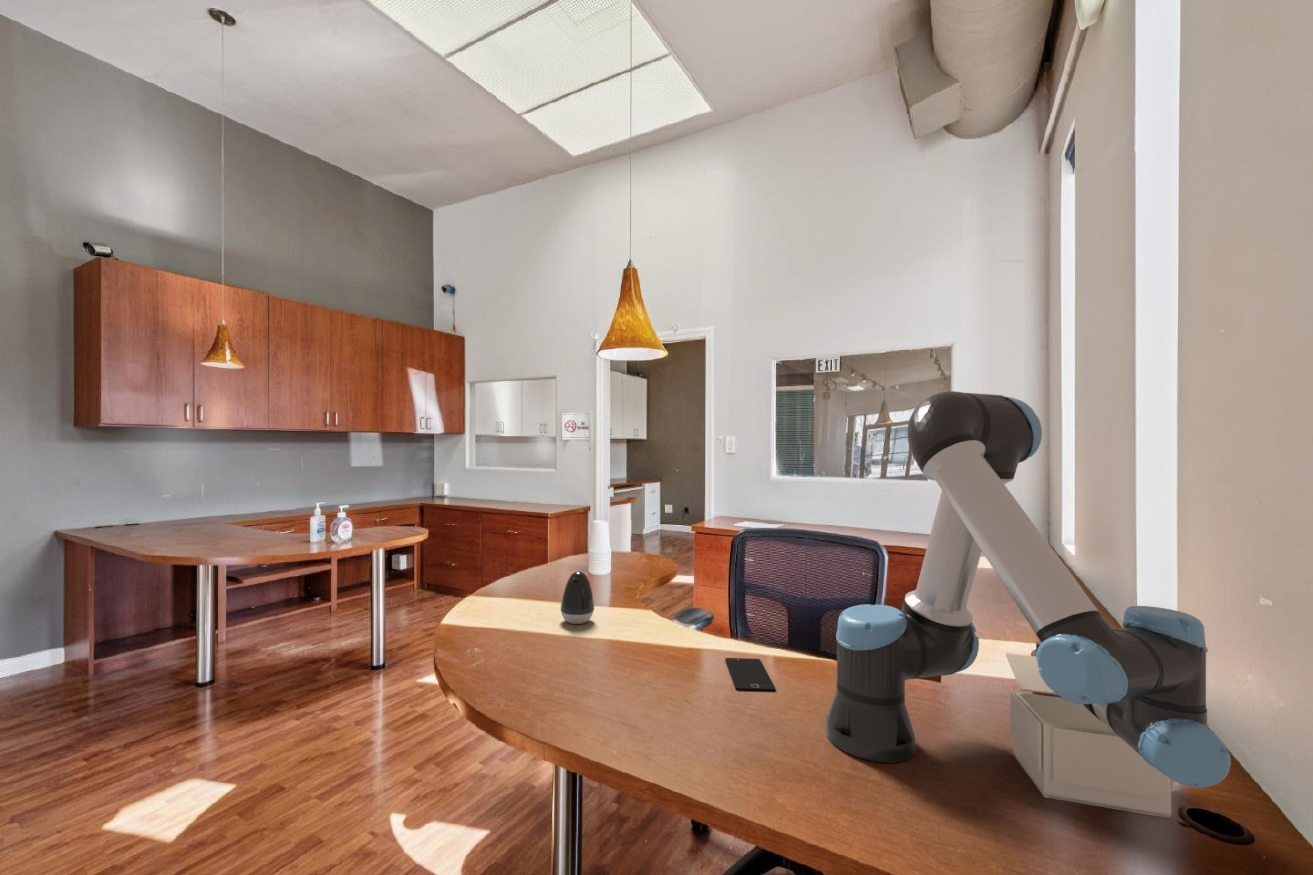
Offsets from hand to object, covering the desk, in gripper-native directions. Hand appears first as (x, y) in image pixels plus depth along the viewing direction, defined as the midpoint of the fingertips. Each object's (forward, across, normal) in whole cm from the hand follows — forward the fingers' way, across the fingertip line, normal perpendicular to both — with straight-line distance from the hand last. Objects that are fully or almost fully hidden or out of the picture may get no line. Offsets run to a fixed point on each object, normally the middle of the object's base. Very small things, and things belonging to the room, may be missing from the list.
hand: (1047, 648), depth 99 cm
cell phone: (+13, -56, -18) cm, 60 cm away
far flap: (-4, 0, -3) cm, 5 cm away
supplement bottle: (+24, +9, -17) cm, 31 cm away
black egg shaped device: (+36, -110, -17) cm, 117 cm away
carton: (-14, 0, -17) cm, 22 cm away
